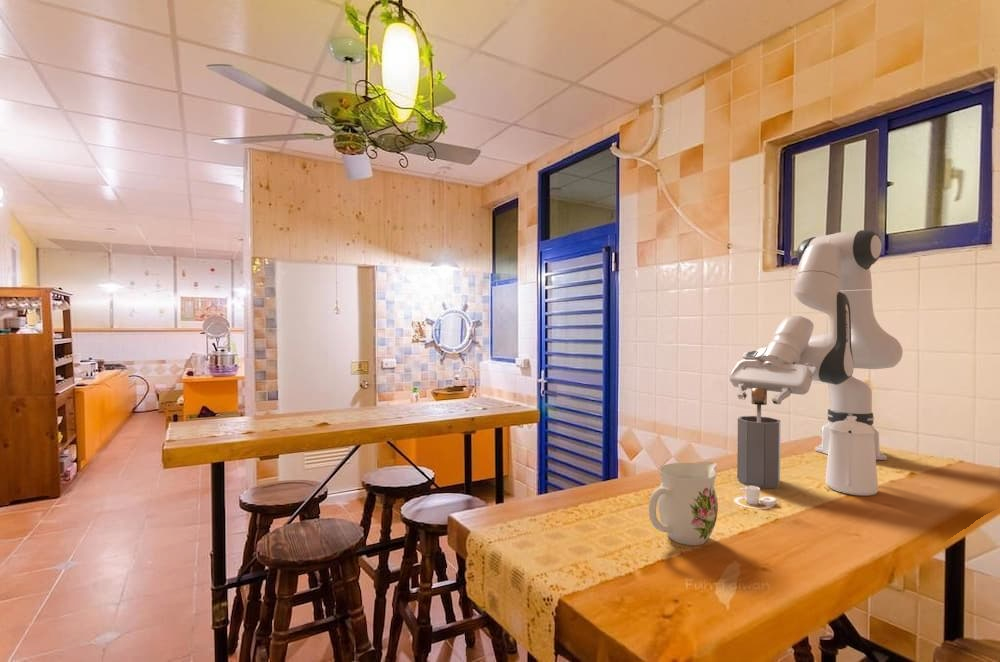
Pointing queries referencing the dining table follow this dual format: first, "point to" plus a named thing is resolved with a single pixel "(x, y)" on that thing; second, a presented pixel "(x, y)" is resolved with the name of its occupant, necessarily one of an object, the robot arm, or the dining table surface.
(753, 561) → the dining table surface
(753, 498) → the teacup and saucer
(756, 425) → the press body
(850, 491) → the coffeepot
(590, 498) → the dining table surface
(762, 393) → the plunger
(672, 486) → the pitcher
